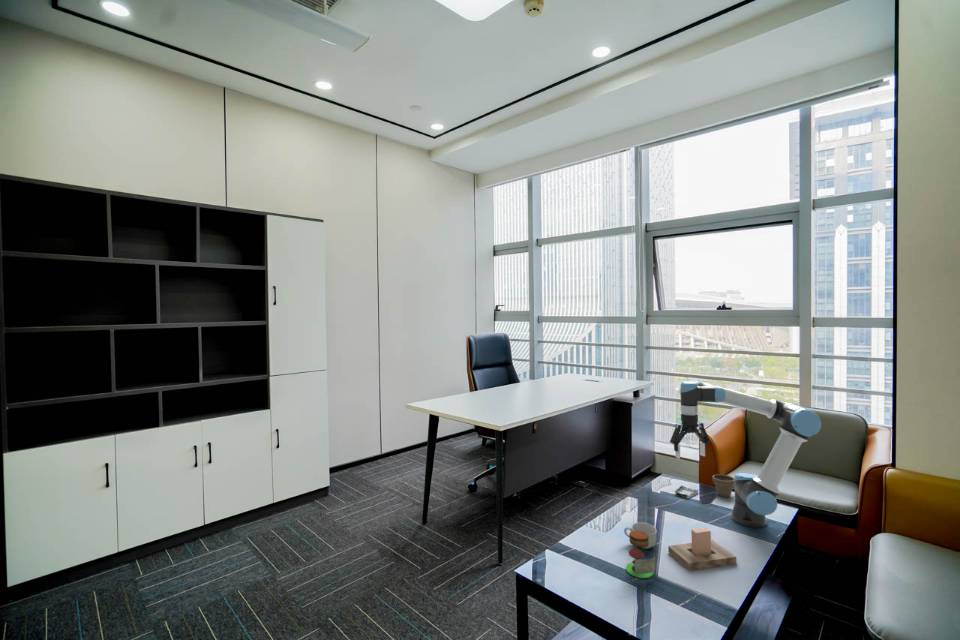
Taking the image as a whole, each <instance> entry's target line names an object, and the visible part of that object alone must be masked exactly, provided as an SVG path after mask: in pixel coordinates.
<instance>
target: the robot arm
mask: <svg viewBox="0 0 960 640" xmlns="http://www.w3.org/2000/svg"><path fill="white" fill-rule="evenodd" d="M679 392H680V420H681V424H679V423H675V426H674V427H675V429H673V430H674V431H673V433H672V436H671V438H670V440H669V443H671V444H672V445H673V451H674V453H675V454H674V455H675V458H676V459H679V460H680V459H681V445H680V443H681V441H682V440H683V439H684V437H685V436H686V435H687V434H692V433H693V434H695V436H696V437H698V438H699V440H700V441H699V456H702V457H706V449H707V444H708V442H710V441H711V439H710V437H709V435H708V433H707V430H706V429H705V424H704V422H701V421H699V415H698V414H699V407H698V406H699V405H698V404H699V403H721V404H722V403H723V404H726V405H729V406H732V407H736V408H740V409H744V410H747V411H750V412H754V413H757V414H761V415H763V416H766V418H768V419H772V420H774V421H777V422H778V423H781V424H780V426H779V430H780V434H779V435H778V438H777V439H776V442H775V443H774V445H773V447H772V449H771V451H770V452H769V455H768V456H767V458H766V460H765V462H764V464H763V466H762V468H761V470H760V472H759V473H758V474H754V473H743V472H740V473H739V472H738V473H735V474H734V477H733V478H734V485H733V487H734V504H733V507H732V510H731V512H730V513H731V514H730V515H731V516H730V517H731V520H733V522H736V523H737V524H738V525H742V526H747V527H752V528H763V527H766V525H767V517H766V516H768V515H769V516H770V515H772V514H773V513H774V512H775V511H776V510H777V509H778V501H777V497H778V496H779V494H780V490H779V486H780V485H781V483H782V480H783V478H784V476H785V475H786V473H787V471H788V469H789V467H790V465H791V464H792V462H793V460H794V459H795V457H796V455H797V453H798V451H799V449H800V447H801V445H802V444H803V443H805V442H808V441H809V440H810V438H811V437H812V436H814V435H817V434H819V432H820V431H821V427H822V421H821V418H820V416H819V415H818V414H817V413H816V412H814V411H813V410H812V409H810V408H807V407H804V406H802V405H800V404H796V403H793V402H789V401H788V402H786V401H782V400H777V399H771V400H770V399H765V398H761V397H758V396H755V395H751V394H748V393H744V392H741V391H736V390H733V389H729V388H725V387H723V386H718V385H715V384H711V383H708V382H706V381H699V382H694V381H682V382H681V383H680V390H679Z"/></svg>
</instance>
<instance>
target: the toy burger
mask: <svg viewBox="0 0 960 640" xmlns="http://www.w3.org/2000/svg"><path fill="white" fill-rule="evenodd" d="M628 534H629V536H630V538H629V543H630V544H631V545H632V546H633V547H632V548H631V549H629V551H628V555H629V557H631V558H632V559H633V560H632V561H631V562H629V563H627V565H626V566H625V569H626V572H627V573H628V574H629V575H630V576H632V577H634V576H635V578H637V577H638V578H637V579H650V578H652V577H653V576H654V572H655V571H656V554H655V553H654V557H652V558H649V559H643V558H644V557H645V554H644V552H643V551H642V550H641V549H640V548H641V547H647V546H648V545H649V539H648V534H647V533H645V532H643V531H638V530H635V531H630V532H629V533H628Z"/></svg>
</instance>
